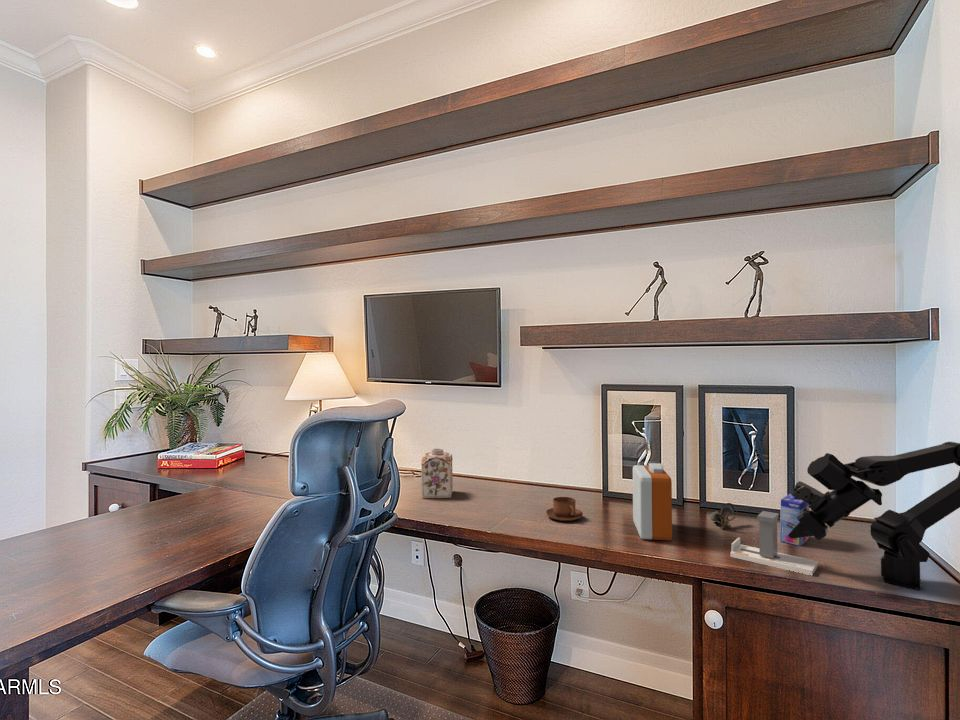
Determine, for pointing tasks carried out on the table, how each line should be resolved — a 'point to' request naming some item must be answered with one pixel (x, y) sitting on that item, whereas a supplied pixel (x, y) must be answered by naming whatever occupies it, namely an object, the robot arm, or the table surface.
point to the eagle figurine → (723, 515)
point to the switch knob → (768, 534)
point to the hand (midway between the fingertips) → (789, 536)
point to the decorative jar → (436, 474)
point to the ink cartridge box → (791, 518)
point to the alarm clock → (652, 502)
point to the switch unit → (778, 561)
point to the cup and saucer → (564, 509)
